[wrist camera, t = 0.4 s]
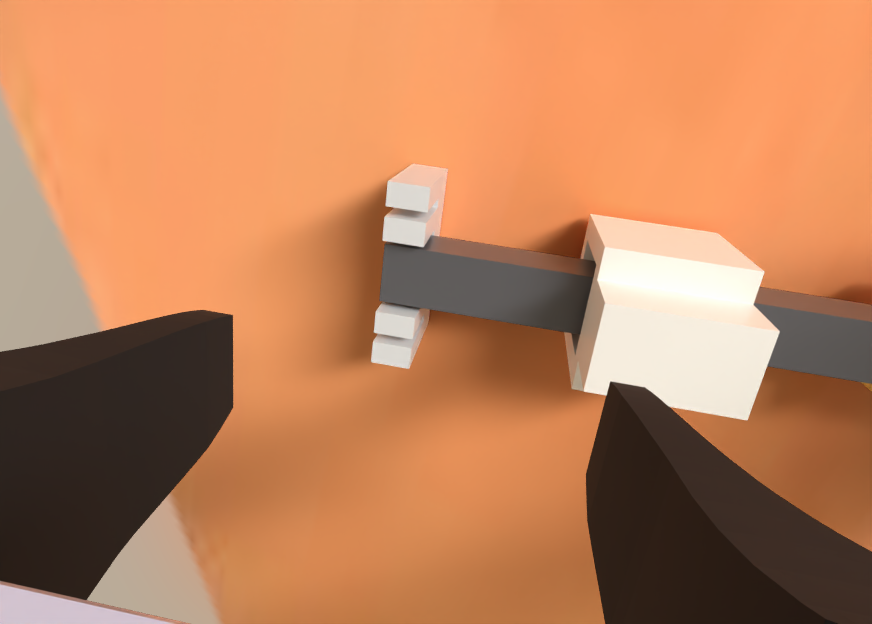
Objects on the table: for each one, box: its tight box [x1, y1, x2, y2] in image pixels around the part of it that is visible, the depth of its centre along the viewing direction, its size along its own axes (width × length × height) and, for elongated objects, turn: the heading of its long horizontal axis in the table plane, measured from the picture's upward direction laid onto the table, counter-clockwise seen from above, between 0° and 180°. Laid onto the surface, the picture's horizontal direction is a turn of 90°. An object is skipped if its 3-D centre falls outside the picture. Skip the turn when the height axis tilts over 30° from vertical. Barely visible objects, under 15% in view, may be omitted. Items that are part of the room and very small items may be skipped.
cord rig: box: [371, 164, 872, 392], centre depth 18 cm, size 19×6×4 cm, turn 83°
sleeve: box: [564, 214, 780, 420], centre depth 17 cm, size 4×4×6 cm
